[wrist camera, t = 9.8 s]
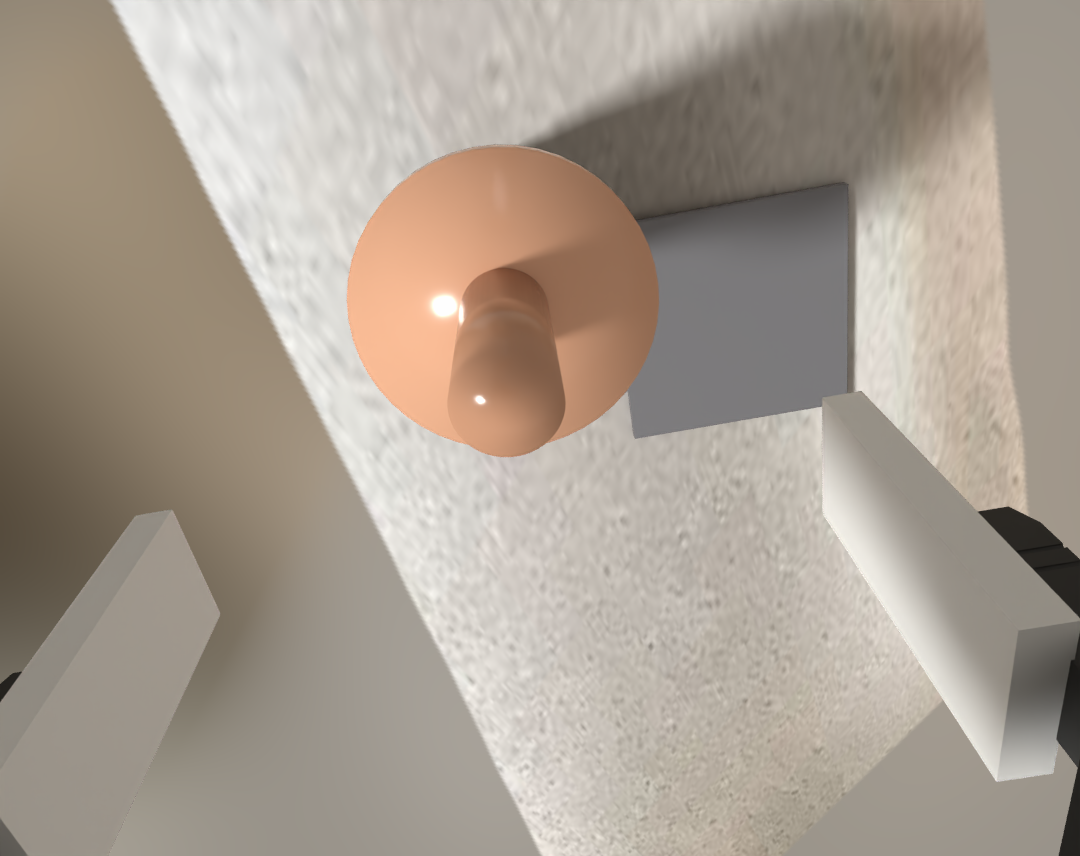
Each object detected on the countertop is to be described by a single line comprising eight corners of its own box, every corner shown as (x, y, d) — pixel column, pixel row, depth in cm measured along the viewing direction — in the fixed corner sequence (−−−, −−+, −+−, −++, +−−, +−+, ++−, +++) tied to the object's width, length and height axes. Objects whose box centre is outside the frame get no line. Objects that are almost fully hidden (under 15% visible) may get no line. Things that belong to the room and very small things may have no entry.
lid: (312, 177, 27) (235, 238, 19) (636, 116, 27) (694, 154, 19) (394, 458, 32) (360, 600, 24) (668, 411, 32) (725, 539, 24)
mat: (605, 225, 43) (607, 228, 43) (843, 182, 43) (848, 184, 42) (633, 434, 49) (635, 438, 49) (843, 397, 49) (847, 402, 48)
